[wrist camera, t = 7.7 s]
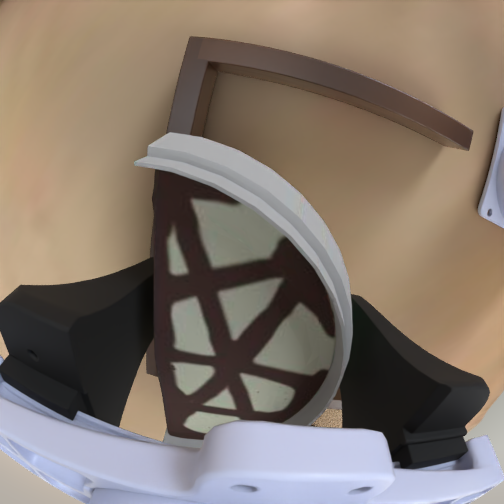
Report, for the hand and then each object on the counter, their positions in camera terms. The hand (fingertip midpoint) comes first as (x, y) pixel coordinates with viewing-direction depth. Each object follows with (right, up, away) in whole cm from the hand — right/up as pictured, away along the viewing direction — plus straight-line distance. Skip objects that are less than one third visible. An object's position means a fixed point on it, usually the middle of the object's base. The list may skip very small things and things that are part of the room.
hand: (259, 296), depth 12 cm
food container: (0, +2, +5) cm, 5 cm away
